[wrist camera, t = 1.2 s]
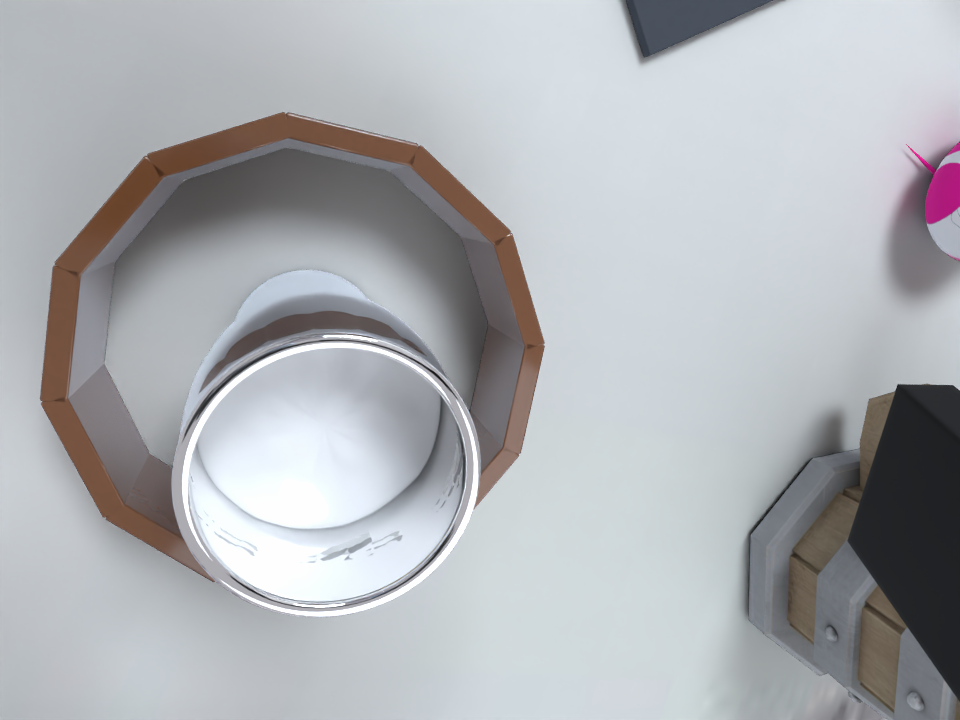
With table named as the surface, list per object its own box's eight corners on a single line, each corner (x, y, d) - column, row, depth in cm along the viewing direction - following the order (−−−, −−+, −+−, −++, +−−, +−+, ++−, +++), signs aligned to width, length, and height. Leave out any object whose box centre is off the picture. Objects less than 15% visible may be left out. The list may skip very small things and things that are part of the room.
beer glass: (422, 365, 31) (542, 511, 17) (284, 452, 30) (287, 684, 16) (334, 225, 28) (388, 258, 14) (183, 316, 28) (82, 446, 14)
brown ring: (65, 511, 28) (22, 576, 23) (110, 83, 25) (72, 59, 20) (459, 538, 33) (489, 596, 28) (535, 184, 30) (581, 183, 26)
